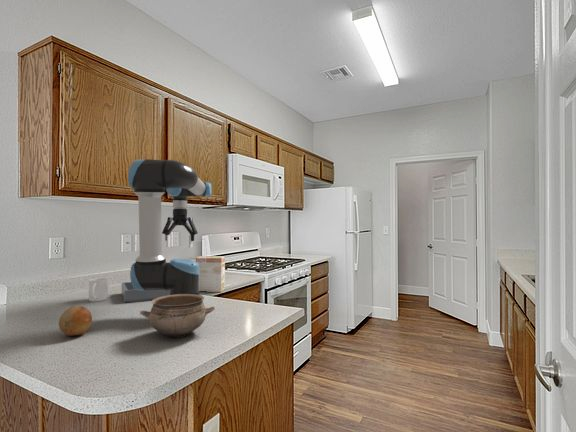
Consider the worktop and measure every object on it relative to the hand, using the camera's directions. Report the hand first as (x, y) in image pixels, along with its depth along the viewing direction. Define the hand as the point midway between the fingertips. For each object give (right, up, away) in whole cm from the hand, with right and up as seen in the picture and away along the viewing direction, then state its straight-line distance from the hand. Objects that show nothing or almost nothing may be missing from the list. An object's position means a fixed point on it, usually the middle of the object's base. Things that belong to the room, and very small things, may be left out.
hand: (179, 247), depth 187 cm
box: (-14, -25, -7) cm, 30 cm away
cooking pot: (+21, -25, -68) cm, 75 cm away
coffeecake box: (+15, -26, +6) cm, 31 cm away
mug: (-35, -25, -19) cm, 47 cm away
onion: (-14, -24, -70) cm, 75 cm away
